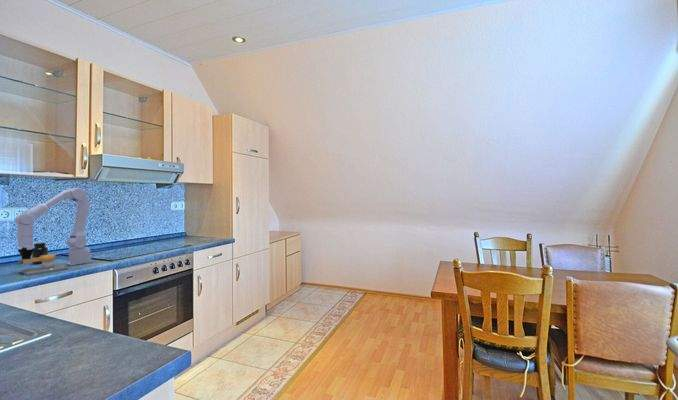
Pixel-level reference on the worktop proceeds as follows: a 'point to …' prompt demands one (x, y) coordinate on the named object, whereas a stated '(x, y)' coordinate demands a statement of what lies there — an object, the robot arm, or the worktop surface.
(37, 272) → the plate
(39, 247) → the supplement bottle
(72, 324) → the worktop surface
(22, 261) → the crank handle
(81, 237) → the robot arm
